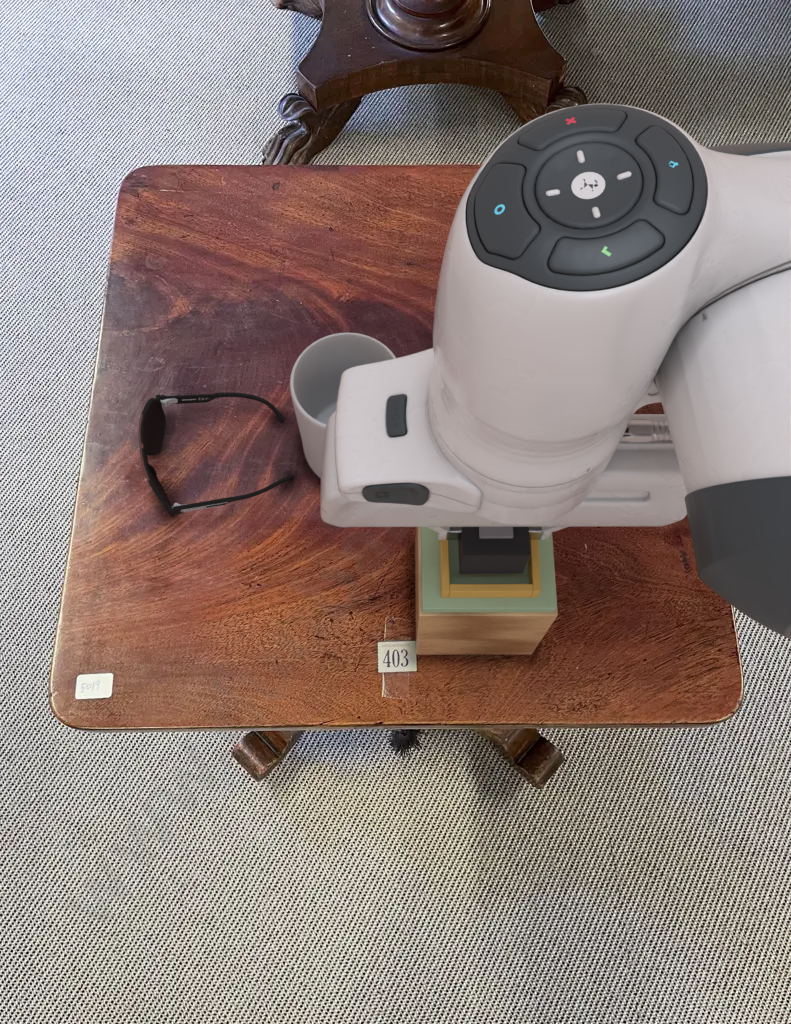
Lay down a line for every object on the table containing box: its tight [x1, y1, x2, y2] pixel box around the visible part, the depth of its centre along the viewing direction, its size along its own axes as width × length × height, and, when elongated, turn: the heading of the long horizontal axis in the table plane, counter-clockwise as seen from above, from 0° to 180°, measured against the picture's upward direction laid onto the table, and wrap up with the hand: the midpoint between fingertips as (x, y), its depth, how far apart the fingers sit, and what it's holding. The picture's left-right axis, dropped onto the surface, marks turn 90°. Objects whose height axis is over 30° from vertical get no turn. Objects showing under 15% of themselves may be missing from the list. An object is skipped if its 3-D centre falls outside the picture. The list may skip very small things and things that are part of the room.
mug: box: [289, 332, 397, 479], centre depth 68 cm, size 12×8×11 cm
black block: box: [458, 527, 530, 573], centre depth 53 cm, size 4×5×4 cm
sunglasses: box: [137, 391, 295, 519], centre depth 71 cm, size 10×12×5 cm
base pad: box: [421, 527, 558, 612], centre depth 56 cm, size 9×9×2 cm
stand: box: [414, 527, 559, 656], centre depth 63 cm, size 9×9×12 cm
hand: (491, 528), depth 53 cm, fingers closed on black block, 4 cm apart
